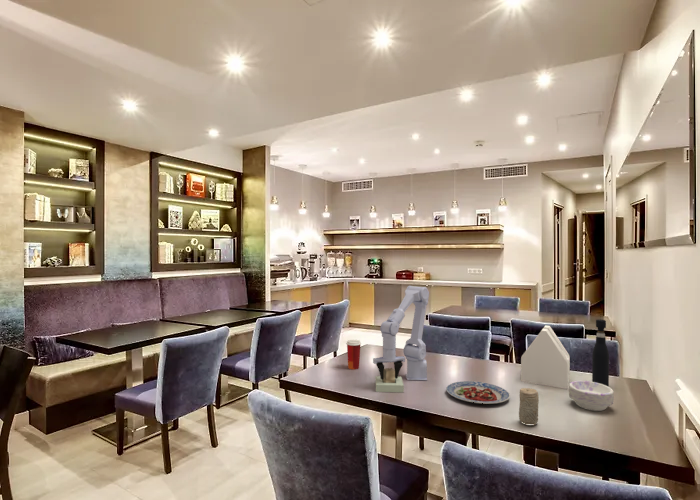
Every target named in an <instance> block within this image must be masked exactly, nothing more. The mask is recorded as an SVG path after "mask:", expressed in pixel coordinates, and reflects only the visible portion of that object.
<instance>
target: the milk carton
mask: <svg viewBox="0 0 700 500" xmlns="http://www.w3.org/2000/svg"><path fill="white" fill-rule="evenodd" d="M570 357H571V356H570V353H568V351H567V349H566V348H565V347H564V344H562V341H560V339H559V337H558V335H556V333H555V332H554V329H553V328H552V326H551V325H544V327H543V328H542V329H541V330H540V332H539V333H538V334H537V336H536V337H535V338H534V340H533V341H532V342H531V343H530V344H529V346H528V347H527V349H526V350H525V351H524V352H523V354H522V355H521V358H520V382H523V383H529V384H535V385H541V386H547V387H553V388H558V389H565V390H568V389H569V384H570V380H571V379H570V378H571V377H570V376H571V373H570V371H571V370H570V369H571V367H570V366H571V365H570V364H571V363H570V361H571V360H570Z"/></svg>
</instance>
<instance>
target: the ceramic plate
mask: <svg viewBox="0 0 700 500" xmlns="http://www.w3.org/2000/svg"><path fill="white" fill-rule="evenodd" d="M445 390H446V392H447V393H448V394H449V396H452V397H454V398H455V399H458V400H461V401H464V402H469V403H473V402H474V403H473V404H482V403H483V405H485V404H486V405H487V404H489V405H490V404H500V403H505V402H507V401H508V400H510V397H511V394H510V392H509V391H508V390H507V389H505V388H503V387H502V386H498V385H496V384H491V383H489V382H482V381H475V380H473V381H472V380H471V381H469V380H464V381H456V382H451V383H450V384H448V385H447V386H446V389H445Z"/></svg>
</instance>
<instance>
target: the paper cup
mask: <svg viewBox="0 0 700 500" xmlns="http://www.w3.org/2000/svg"><path fill="white" fill-rule="evenodd" d="M345 344H346V348H347V368H348V369H349V370H353V371H354V370H359V369H360V357H361V345H362V343H361V340H360V339H359V340H357V339H349V340H348V339H347V341H346V343H345Z"/></svg>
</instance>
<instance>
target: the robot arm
mask: <svg viewBox="0 0 700 500" xmlns="http://www.w3.org/2000/svg"><path fill="white" fill-rule="evenodd" d="M429 297H430V292H429V290H428V287H426V286H415V285H414V286H413V285H408V286H407V287H406V289H405V290H404V297H403V299H402V301H401V302H400V304H399V306H398V307H397V308H394V309H393V310H392V312H391V314H389V316H388V318H387V319H386V320H385V321H383V322H382V323H381V324H380V327H379V331H380V332H381V337H382V356H380V357H375V358H372V363H373V364H375V365H376V367H377V369H378V373H379V376H380V377H381V379H382V380H384V369H385V365H384V363H385V364H387V363H393V369H394V370H395V378H396V379H397V378H398V377H399V374H400V372H401V368H403V367H402V366H403V365H404V364H403V363H405V362H406V373H405V374H404V375H405V378H406V380H408V381H427V380H428V376H427V375H428V365H427V363H428V362H427V359H426V356H427V349H426V346H427V345H426V343H425V342H424V341H423V340H422V339H423V333H424V326H425V325H424V324H425V319H426V313H427V312H426V311H427V305H428V304H429ZM412 304H413V305H414V306H415V307H414V313H413V320H412V328H411V334H410V338H408V339H407V340H406V342H405V345H404V347H403V349H402V350H403V352H402V353H403V355H404V356H396V355H397V353H396V351H397V348H396V347H397V346H396V345H397V343H396V338H397V334H398V333H399V329H400V325H401V323H402V321H403V320H404V318H405V316H406V314H405V312H406V311H407V310H408V308H409V307H410V306H411V305H412Z"/></svg>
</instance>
